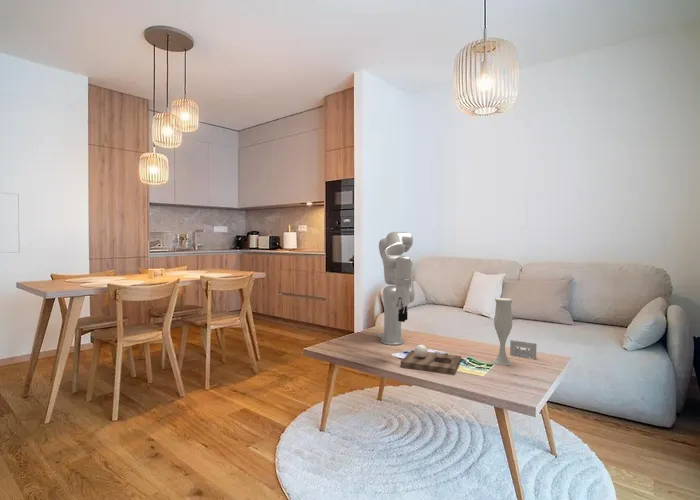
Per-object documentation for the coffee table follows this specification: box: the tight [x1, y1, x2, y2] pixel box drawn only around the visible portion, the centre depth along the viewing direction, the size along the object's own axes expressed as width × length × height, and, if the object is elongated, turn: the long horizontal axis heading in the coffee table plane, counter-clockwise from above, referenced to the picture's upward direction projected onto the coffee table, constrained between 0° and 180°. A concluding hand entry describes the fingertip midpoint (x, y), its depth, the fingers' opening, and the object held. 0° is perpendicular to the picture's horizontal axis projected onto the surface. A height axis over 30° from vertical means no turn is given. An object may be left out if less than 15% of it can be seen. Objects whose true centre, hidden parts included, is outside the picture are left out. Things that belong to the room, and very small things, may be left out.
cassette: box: [509, 339, 538, 360], centre depth 195 cm, size 12×2×8 cm, turn 56°
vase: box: [492, 297, 513, 366], centre depth 186 cm, size 9×8×30 cm
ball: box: [414, 344, 429, 358], centre depth 185 cm, size 6×6×6 cm
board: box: [400, 349, 462, 376], centre depth 183 cm, size 24×20×2 cm
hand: (402, 320), depth 188 cm, fingers open, 3 cm apart
